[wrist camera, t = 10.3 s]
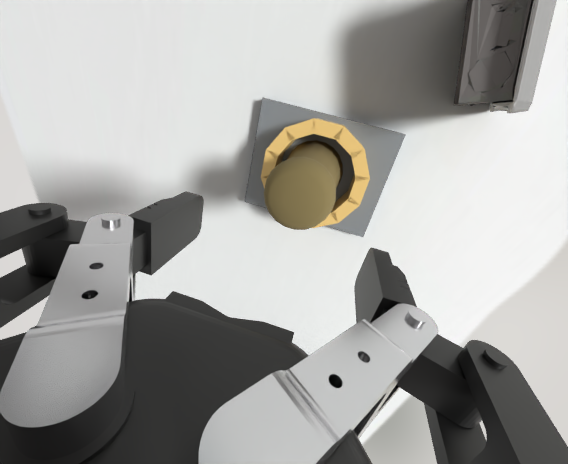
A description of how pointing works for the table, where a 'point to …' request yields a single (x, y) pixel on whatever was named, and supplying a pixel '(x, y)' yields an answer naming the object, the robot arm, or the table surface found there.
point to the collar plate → (349, 145)
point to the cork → (304, 185)
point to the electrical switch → (503, 52)
